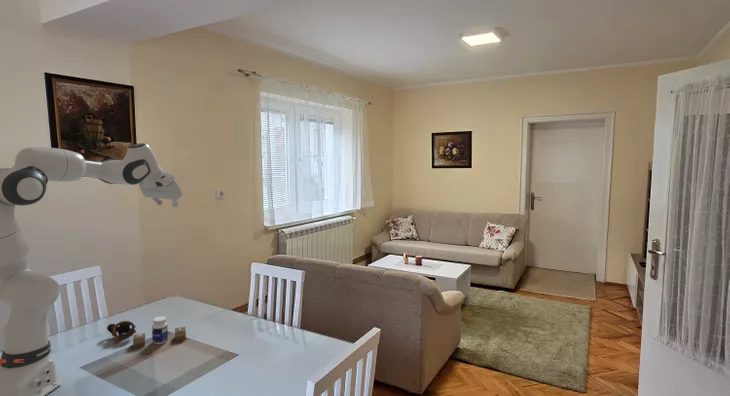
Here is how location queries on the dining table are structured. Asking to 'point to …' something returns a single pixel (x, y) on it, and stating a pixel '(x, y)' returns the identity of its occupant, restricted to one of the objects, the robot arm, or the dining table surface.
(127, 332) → the pottery mug
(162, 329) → the pill bottle
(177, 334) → the walnut block bar
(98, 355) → the dining table surface
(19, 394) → the robot arm
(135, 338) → the walnut block dot
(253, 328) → the dining table surface
